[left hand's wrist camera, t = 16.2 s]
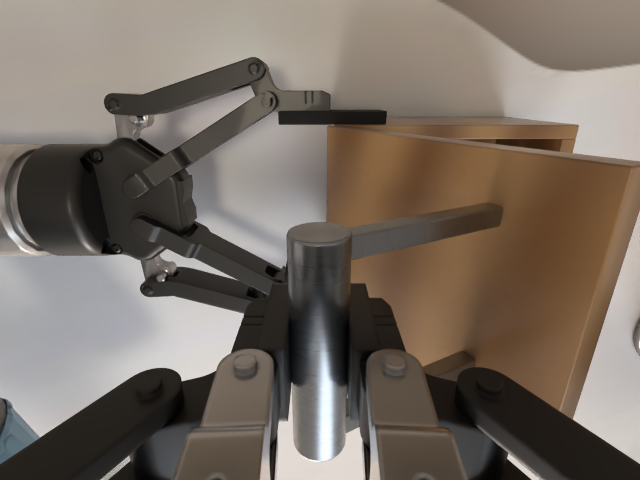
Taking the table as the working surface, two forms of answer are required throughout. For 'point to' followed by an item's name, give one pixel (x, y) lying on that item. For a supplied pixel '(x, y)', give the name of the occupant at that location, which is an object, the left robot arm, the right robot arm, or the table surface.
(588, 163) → the wooden door panel
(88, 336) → the table surface
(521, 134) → the chest
